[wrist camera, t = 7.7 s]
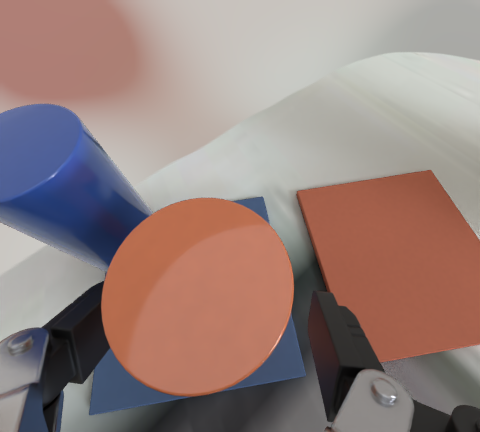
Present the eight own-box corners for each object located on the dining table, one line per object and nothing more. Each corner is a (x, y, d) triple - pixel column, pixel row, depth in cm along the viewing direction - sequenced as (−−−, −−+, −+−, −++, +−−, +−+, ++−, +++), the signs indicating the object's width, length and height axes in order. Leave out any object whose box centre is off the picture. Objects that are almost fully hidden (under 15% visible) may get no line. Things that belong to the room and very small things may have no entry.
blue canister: (170, 216, 20) (89, 94, 10) (171, 274, 17) (67, 191, 8) (110, 225, 20) (-30, 112, 10) (103, 286, 17) (-91, 216, 7)
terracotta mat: (426, 173, 21) (431, 169, 21) (533, 333, 15) (544, 332, 14) (296, 194, 21) (297, 190, 20) (351, 366, 15) (355, 367, 14)
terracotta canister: (260, 273, 17) (270, 185, 7) (276, 351, 15) (321, 374, 5) (192, 284, 17) (110, 210, 7) (197, 366, 15) (85, 418, 5)
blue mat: (262, 199, 21) (263, 196, 20) (304, 374, 15) (306, 376, 14) (115, 223, 20) (111, 220, 20) (94, 413, 14) (88, 415, 14)
